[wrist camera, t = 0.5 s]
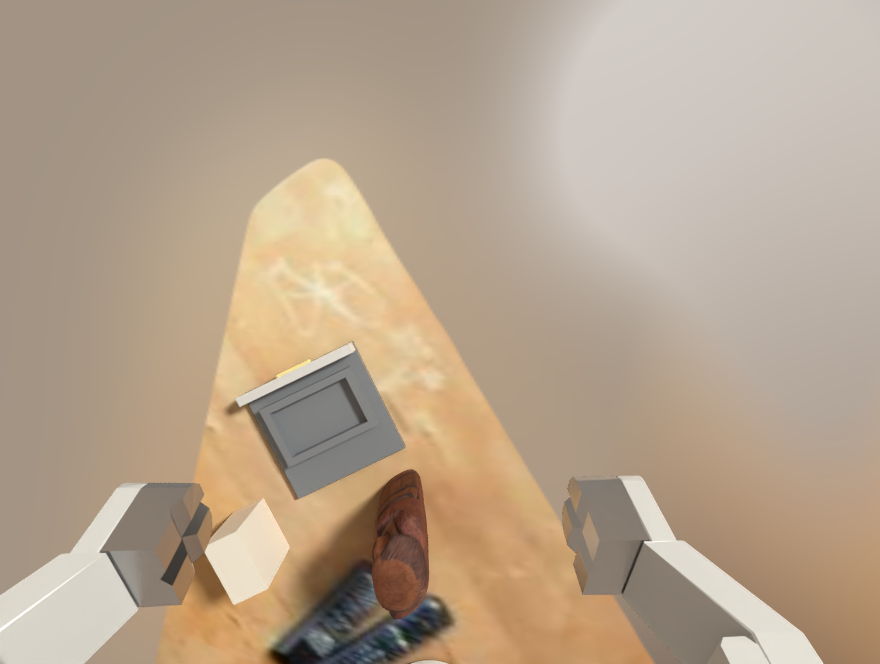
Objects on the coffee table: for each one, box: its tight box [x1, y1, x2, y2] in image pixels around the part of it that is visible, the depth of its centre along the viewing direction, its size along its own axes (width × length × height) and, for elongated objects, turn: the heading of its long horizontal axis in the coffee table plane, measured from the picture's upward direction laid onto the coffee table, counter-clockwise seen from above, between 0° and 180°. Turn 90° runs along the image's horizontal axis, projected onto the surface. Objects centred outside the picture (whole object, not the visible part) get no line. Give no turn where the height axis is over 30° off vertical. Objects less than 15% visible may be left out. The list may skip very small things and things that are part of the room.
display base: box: [236, 341, 405, 498], centre depth 60 cm, size 16×16×4 cm
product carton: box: [205, 498, 290, 605], centre depth 59 cm, size 5×8×9 cm, turn 26°
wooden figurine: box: [372, 470, 429, 619], centre depth 54 cm, size 12×6×18 cm, turn 5°
